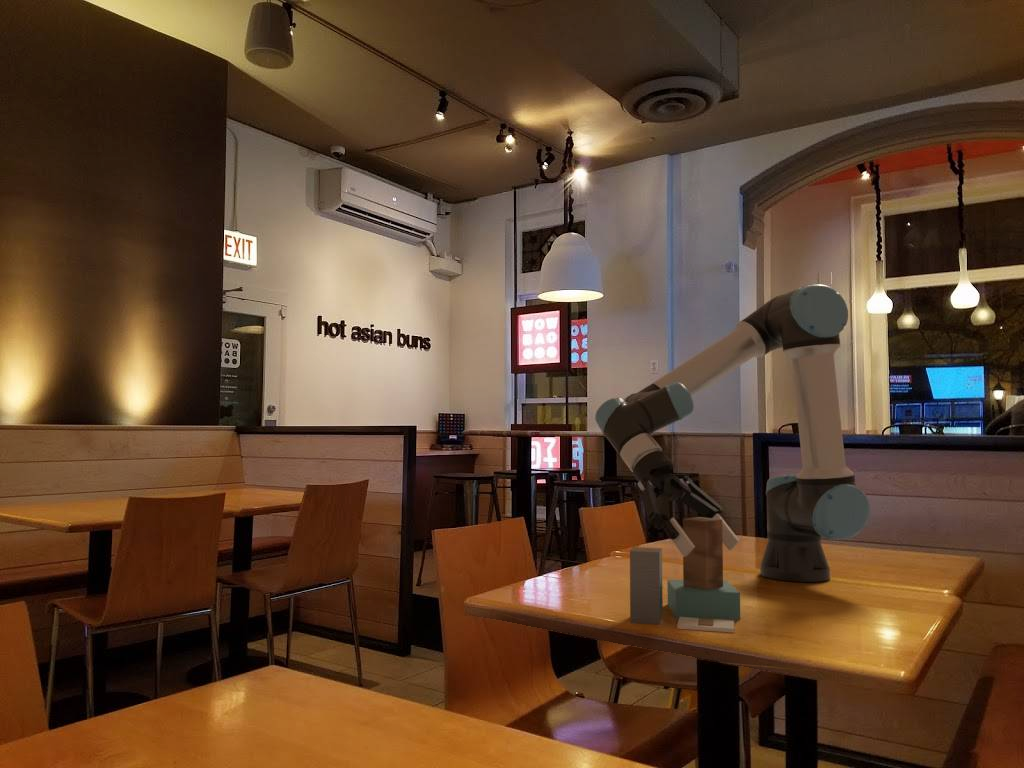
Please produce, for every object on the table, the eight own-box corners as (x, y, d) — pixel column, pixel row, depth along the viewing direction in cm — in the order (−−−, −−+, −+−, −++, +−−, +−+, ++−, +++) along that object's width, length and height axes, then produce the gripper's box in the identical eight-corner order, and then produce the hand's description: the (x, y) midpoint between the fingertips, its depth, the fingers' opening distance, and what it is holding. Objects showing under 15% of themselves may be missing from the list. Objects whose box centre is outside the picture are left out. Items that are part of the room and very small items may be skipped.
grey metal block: (662, 617, 132) (661, 548, 133) (660, 624, 127) (659, 552, 128) (634, 615, 133) (633, 547, 134) (630, 622, 128) (629, 551, 129)
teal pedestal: (726, 607, 142) (726, 580, 142) (740, 621, 131) (739, 592, 131) (667, 606, 142) (667, 579, 143) (676, 620, 131) (676, 591, 132)
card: (734, 624, 127) (733, 619, 127) (734, 632, 122) (734, 627, 122) (679, 620, 130) (679, 615, 130) (677, 628, 124) (677, 623, 124)
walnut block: (700, 581, 140) (699, 516, 141) (723, 586, 136) (722, 519, 137) (683, 585, 137) (682, 518, 138) (706, 589, 133) (705, 521, 134)
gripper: (677, 473, 158) (740, 555, 145) (593, 476, 143) (656, 568, 130) (697, 448, 154) (764, 530, 141) (614, 448, 139) (680, 540, 126)
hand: (712, 548), depth 135 cm, fingers open, 12 cm apart
